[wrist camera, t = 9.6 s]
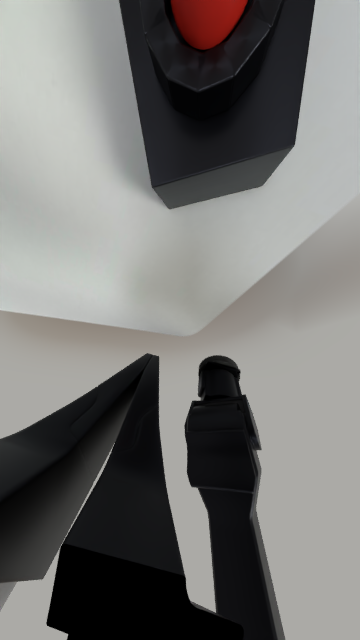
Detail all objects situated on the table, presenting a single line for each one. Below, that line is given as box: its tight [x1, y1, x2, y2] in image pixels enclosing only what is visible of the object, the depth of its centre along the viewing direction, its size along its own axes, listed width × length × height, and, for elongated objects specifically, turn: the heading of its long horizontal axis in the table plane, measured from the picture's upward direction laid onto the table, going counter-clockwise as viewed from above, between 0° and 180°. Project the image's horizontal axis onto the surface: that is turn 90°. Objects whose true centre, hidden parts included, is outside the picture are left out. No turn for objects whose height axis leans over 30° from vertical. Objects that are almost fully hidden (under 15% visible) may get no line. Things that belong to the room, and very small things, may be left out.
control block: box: [119, 0, 315, 209], centre depth 9 cm, size 12×10×8 cm
